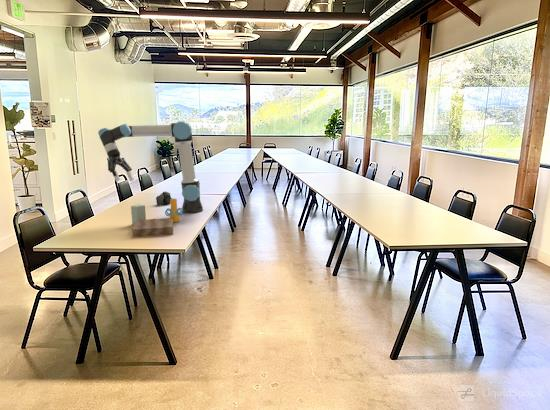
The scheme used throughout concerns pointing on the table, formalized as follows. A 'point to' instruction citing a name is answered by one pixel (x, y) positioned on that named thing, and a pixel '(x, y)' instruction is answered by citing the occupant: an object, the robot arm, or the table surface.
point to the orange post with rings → (174, 210)
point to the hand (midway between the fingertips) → (125, 180)
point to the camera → (163, 198)
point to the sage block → (138, 213)
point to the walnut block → (153, 227)
